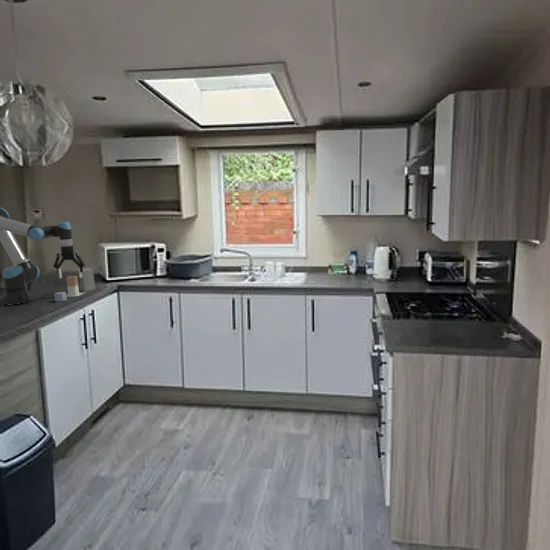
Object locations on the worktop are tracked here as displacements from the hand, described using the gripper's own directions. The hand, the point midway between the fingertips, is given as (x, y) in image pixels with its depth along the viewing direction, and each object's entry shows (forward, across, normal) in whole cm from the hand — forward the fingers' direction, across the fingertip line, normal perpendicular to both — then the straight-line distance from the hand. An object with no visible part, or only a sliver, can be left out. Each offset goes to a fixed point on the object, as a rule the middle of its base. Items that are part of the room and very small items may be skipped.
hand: (70, 277), depth 319 cm
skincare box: (+13, +5, +13) cm, 19 cm away
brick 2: (+5, +1, 0) cm, 5 cm away
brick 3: (+11, +1, 0) cm, 11 cm away
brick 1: (+13, 0, -16) cm, 20 cm away
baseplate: (+12, +1, 0) cm, 13 cm away
